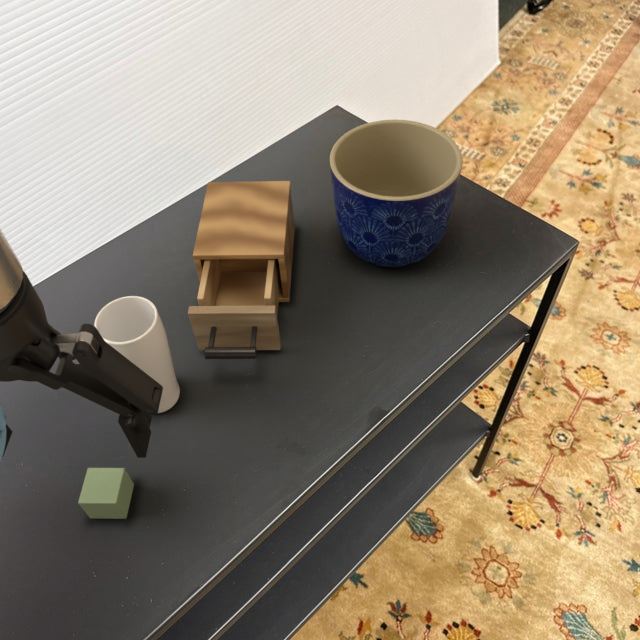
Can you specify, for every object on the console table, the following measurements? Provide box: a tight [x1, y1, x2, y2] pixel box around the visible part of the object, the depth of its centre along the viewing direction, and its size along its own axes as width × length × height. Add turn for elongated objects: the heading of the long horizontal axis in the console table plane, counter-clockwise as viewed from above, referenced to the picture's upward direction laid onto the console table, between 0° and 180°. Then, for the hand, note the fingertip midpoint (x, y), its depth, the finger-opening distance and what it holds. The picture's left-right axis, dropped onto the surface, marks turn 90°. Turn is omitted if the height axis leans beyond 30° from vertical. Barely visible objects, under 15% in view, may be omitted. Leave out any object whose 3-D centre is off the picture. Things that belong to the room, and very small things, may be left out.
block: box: [78, 467, 135, 520], centre depth 69 cm, size 4×4×4 cm
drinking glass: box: [93, 295, 181, 414], centre depth 73 cm, size 7×7×15 cm
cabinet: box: [192, 180, 296, 303], centre depth 89 cm, size 15×12×9 cm
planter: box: [329, 119, 464, 268], centre depth 89 cm, size 17×17×15 cm
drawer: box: [187, 259, 282, 360], centre depth 82 cm, size 18×10×7 cm, turn 179°
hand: (74, 444), depth 61 cm, fingers open, 13 cm apart
